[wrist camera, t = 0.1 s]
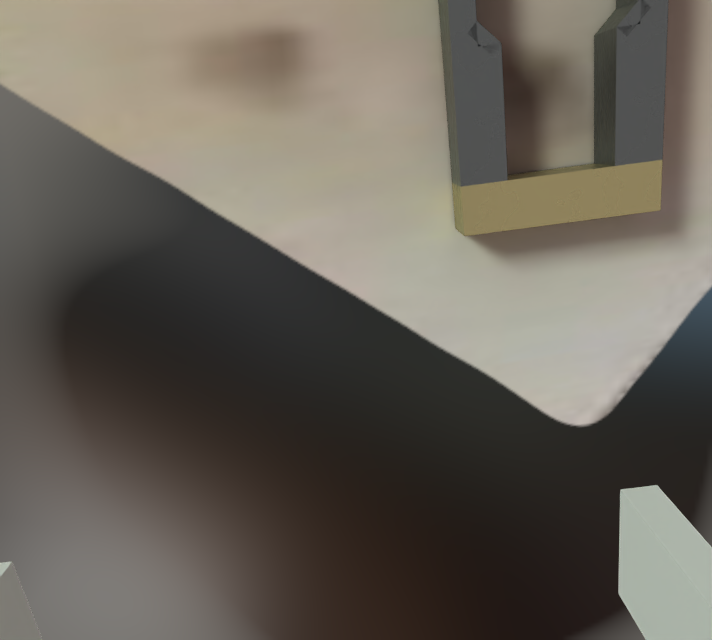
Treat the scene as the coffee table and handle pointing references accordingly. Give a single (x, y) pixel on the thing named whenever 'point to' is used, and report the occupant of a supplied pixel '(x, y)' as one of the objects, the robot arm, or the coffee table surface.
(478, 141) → the keyhole plate
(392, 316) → the coffee table surface
